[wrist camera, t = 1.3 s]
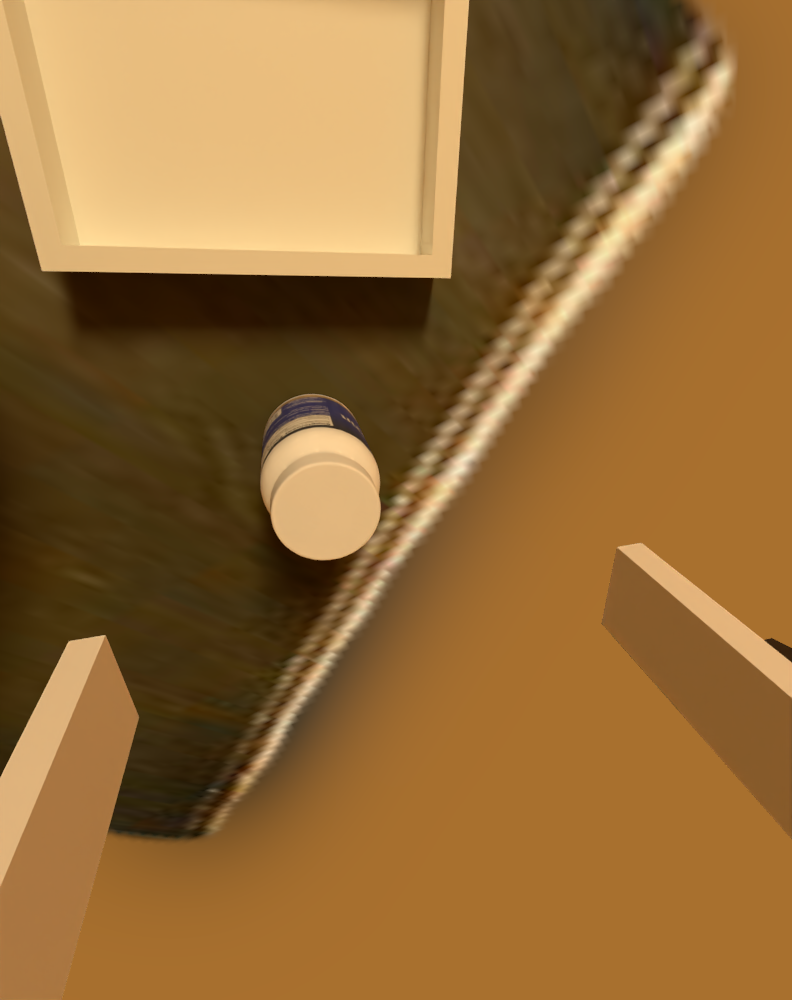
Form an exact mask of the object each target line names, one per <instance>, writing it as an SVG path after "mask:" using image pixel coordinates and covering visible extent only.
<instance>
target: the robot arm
mask: <svg viewBox="0 0 792 1000" xmlns="http://www.w3.org/2000/svg"><path fill="white" fill-rule="evenodd" d="M602 625H603V626H604V627H605V628H606V629H607V630H608V631H609V633H610V634H611V635H612V636H613V637H614V638H615V639H616V641H617V642H618V643H619V644H620V645H621V646H622V647H623V649H624V650H625V651H626V652H627V653H628V654H629V655H630V656H631V657H632V658H633V660H634V661H635V662H636V663H637V664H638V665H639V667H640V668H641V669H642V670H643V671H644V672H645V673H646V675H647V676H648V677H649V678H650V679H651V680H652V681H653V682H654V683H655V685H656V686H657V687H658V688H659V689H660V690H661V692H662V693H663V694H664V695H665V696H666V697H667V698H668V699H669V700H670V702H671V703H672V704H673V705H674V706H675V707H676V709H677V710H678V711H679V712H680V713H681V714H682V715H683V716H684V718H685V719H686V720H687V721H688V722H689V723H690V724H691V725H692V727H693V728H694V729H695V730H696V731H697V732H698V733H699V735H700V736H701V737H702V738H703V739H704V740H705V741H706V742H707V743H708V745H709V746H710V747H711V748H712V749H713V750H714V751H715V753H716V754H717V755H718V756H719V757H720V758H721V759H722V760H723V762H724V763H725V764H726V765H727V766H728V767H729V768H730V770H731V771H732V772H733V773H734V774H735V775H736V776H737V777H738V778H739V780H740V781H741V782H742V783H743V784H744V785H745V787H746V788H747V789H748V790H749V791H750V792H751V793H752V795H753V796H754V797H755V798H756V799H757V800H758V801H759V802H760V804H761V805H762V806H763V807H764V808H765V809H766V810H767V812H768V813H769V814H770V815H771V816H772V817H773V818H774V819H775V821H776V822H777V823H778V824H779V825H780V826H781V827H782V829H783V830H784V831H785V832H786V833H787V834H788V835H789V836H790V838H791V839H792V648H790V647H788V646H786V645H784V644H782V643H780V642H778V641H776V640H774V639H772V638H771V639H767V640H763V639H762V638H760V637H759V636H758V635H757V634H755V633H754V632H753V631H752V630H750V629H749V628H748V627H746V626H745V625H744V624H743V623H741V622H740V621H739V620H738V619H736V618H735V617H734V616H733V615H731V614H730V613H729V612H728V611H726V610H725V609H724V608H723V607H721V606H720V605H719V604H717V603H716V602H715V601H714V600H713V599H711V598H710V597H709V596H708V595H706V594H705V593H704V592H702V591H701V590H700V589H699V588H697V587H696V586H695V585H694V584H692V583H691V582H690V581H688V580H687V579H686V578H685V577H684V576H682V575H681V574H680V573H679V572H677V571H676V570H675V569H673V568H672V567H671V566H670V565H669V564H667V563H666V562H665V561H663V560H662V559H661V558H660V557H658V556H657V555H656V554H655V553H653V552H652V551H651V550H650V549H648V548H647V547H646V546H645V545H643V544H642V543H638V544H633V545H627V546H621V547H617V549H616V554H615V559H614V564H613V569H612V574H611V579H610V584H609V589H608V594H607V599H606V604H605V609H604V614H603V619H602ZM138 719H139V716H138V714H137V711H136V709H135V706H134V704H133V701H132V699H131V697H130V694H129V692H128V689H127V687H126V684H125V682H124V679H123V677H122V674H121V672H120V670H119V667H118V665H117V662H116V660H115V657H114V655H113V652H112V650H111V647H110V645H109V643H108V640H107V638H106V635H103V636H97V637H91V638H85V639H80V640H74V641H69V642H68V644H67V646H66V648H65V650H64V652H63V654H62V656H61V658H60V660H59V662H58V664H57V666H56V668H55V670H54V672H53V674H52V676H51V678H50V680H49V682H48V684H47V686H46V688H45V690H44V692H43V694H42V696H41V698H40V700H39V702H38V704H37V706H36V708H35V710H34V712H33V714H32V716H31V718H30V720H29V722H28V724H27V726H26V727H25V729H24V731H23V733H22V735H21V737H20V739H19V741H18V743H17V745H16V747H15V749H14V751H13V753H12V755H11V757H10V759H9V761H8V763H7V765H6V767H5V769H4V771H3V773H2V775H1V777H0V1000H61V999H62V996H63V992H64V989H65V985H66V982H67V978H68V974H69V970H70V967H71V963H72V960H73V956H74V952H75V949H76V945H77V941H78V938H79V934H80V930H81V927H82V923H83V919H84V916H85V912H86V908H87V905H88V901H89V898H90V894H91V890H92V887H93V883H94V879H95V876H96V872H97V868H98V865H99V861H100V857H101V854H102V850H103V846H104V843H105V839H106V835H107V832H108V828H109V824H110V821H111V817H112V814H113V810H114V806H115V803H116V799H117V795H118V792H119V788H120V784H121V781H122V777H123V773H124V770H125V766H126V762H127V759H128V755H129V751H130V748H131V744H132V740H133V737H134V733H135V730H136V726H137V722H138Z"/></svg>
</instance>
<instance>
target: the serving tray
mask: <svg viewBox="0 0 792 1000" xmlns="http://www.w3.org/2000/svg"><path fill="white" fill-rule="evenodd" d="M468 8H469V0H0V115H1V119H2V123H3V126H4V130H5V134H6V138H7V141H8V145H9V149H10V153H11V156H12V160H13V164H14V168H15V171H16V175H17V179H18V183H19V186H20V190H21V194H22V198H23V201H24V205H25V209H26V213H27V217H28V220H29V224H30V228H31V232H32V235H33V239H34V243H35V247H36V250H37V254H38V258H39V262H40V265H41V269H42V271H72V272H129V273H186V274H243V275H300V276H357V277H414V278H451V265H452V249H453V234H454V219H455V204H456V189H457V174H458V159H459V144H460V129H461V114H462V98H463V83H464V68H465V53H466V38H467V23H468Z"/></svg>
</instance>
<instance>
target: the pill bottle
mask: <svg viewBox="0 0 792 1000" xmlns="http://www.w3.org/2000/svg"><path fill="white" fill-rule="evenodd" d="M260 488H261V494H262V499H263V501H264V504H265V506H266V508H267V510H268V512H269V513H270V515H271V522H272V526H273V529H274V531H275V533H276V535H277V536H278V538H279V539H280V541H281V542H282V543H283V544H284V545H285V546H286V547H287V548H288V549H290V550H291V551H293V552H294V553H296V554H298V555H300V556H302V557H305V558H309V559H314V560H332V559H338V558H342V557H344V556H347V555H349V554H351V553H353V552H355V551H356V550H358V549H359V548H361V547H362V546H363V545H364V544H365V543H366V542H367V541H368V540H369V539H370V537H371V536H372V535H373V533H374V531H375V529H376V527H377V525H378V522H379V518H380V511H381V508H380V499H379V489H380V476H379V470H378V467H377V463H376V461H375V458H374V456H373V454H372V452H371V450H370V448H369V446H368V444H367V442H366V440H365V438H364V436H363V434H362V432H361V429H360V427H359V425H358V423H357V421H356V419H355V418H354V416H353V414H352V413H351V412H350V411H349V410H348V409H347V407H345V406H344V405H343V404H342V403H340V402H339V401H337V400H335V399H333V398H331V397H328V396H324V395H318V394H305V395H300V396H296V397H294V398H291V399H289V400H287V401H286V402H284V403H283V404H281V405H280V406H279V407H278V408H277V409H276V410H275V411H274V412H273V413H272V415H271V416H270V418H269V420H268V422H267V424H266V427H265V431H264V435H263V446H262V461H261V474H260Z"/></svg>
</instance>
